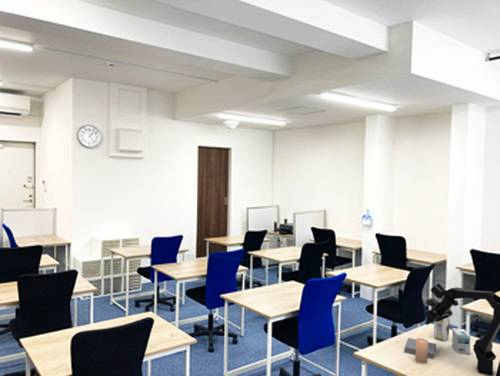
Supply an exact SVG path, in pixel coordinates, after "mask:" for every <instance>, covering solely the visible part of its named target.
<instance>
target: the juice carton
mask: <svg viewBox="0 0 500 376" xmlns="http://www.w3.org/2000/svg"><path fill="white" fill-rule="evenodd" d="M450 318H451V316H450V317H448V318H446V319H443V320H441V321H438V322H436V321H435V322H433V336H434V337H433V338H434V339H435V340H439V341H442V342H446V341H447V340H448V339H449V335H450Z"/></svg>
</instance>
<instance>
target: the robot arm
mask: <svg viewBox="0 0 500 376" xmlns="http://www.w3.org/2000/svg"><path fill="white" fill-rule="evenodd" d="M430 292H431V293H432V294H433V295H434V296H435V298H437V299H438V300H439V299H441V300H439V301H438V300H437V299H435V298H432V297H431V298H428V299H427V300H426V301H425V302H426V305H427V306H430V307H432V309H427V310H425V311H424V315H425V317H426V319H425V320H426V321H425V325H426V326H428V325H430V324H433V323H434V322H435V321H436V322H438V321H441V320H443V319H446V318H448V317H450V318H451V317H452V316H453V311H452V309H451V308H452V307H453V306H454V307H456V306H459V305H460V304H459V299H474V300H475V299H476V300H486V301H487V303H488V304H489V305H490V307H491V308H492V309H493V312H492V313H493V317H492V319H491V321H490V322H489V324H488V327H487V329H486V331H485V333H484V334H483V336H482V337H481V338H478V339H476V340H475V342H474V344H473V345H472V347H473V348H472V349H473V352H474V354H475V357H476V360H477V361H476V362H477V364H476V365H477V366H476V369H477V371H478V372H477V373H480V374H484V375H489V376H492V375H493V376H494V361H495V360H496V358H497V356H496V354H495V353H494V352H493V350H492V349H493V342H494V340H495V338H496V336H497V334H498V332H499V330H500V296H499V295H498V294H496V293H495V292H494V291H493V290H492V291H491V290H489V291H486V290H470V289H465V288H461V287H458V286H457V287H452V288H448V289H446V288H445V287H443V286H442V284H441V283H437V284H435V285H434V286H433V287H431V289H430Z"/></svg>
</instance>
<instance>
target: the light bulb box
mask: <svg viewBox="0 0 500 376" xmlns="http://www.w3.org/2000/svg"><path fill="white" fill-rule="evenodd" d="M451 335H452V337H451V338H452V339H451V340H452V341H451V346H452V347H453V349H454V350H455V352H456V353H457V354H464V355H470V354H471V335H470V333H468V332H467V331H466V329H463V328H455V327H452V333H451Z"/></svg>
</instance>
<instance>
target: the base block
mask: <svg viewBox="0 0 500 376" xmlns="http://www.w3.org/2000/svg"><path fill="white" fill-rule="evenodd" d="M416 339H417V338H412V337H408V338H407V341H406V342H405V345H404V353H406V354H410V355H414V356H415V354H416ZM436 350H437V343H435V342H434V343H433V342H429V341H428V357H427V359H431V360H434V358H435V354H436Z"/></svg>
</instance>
